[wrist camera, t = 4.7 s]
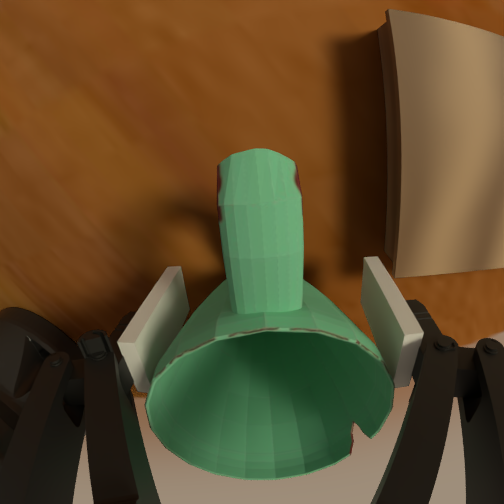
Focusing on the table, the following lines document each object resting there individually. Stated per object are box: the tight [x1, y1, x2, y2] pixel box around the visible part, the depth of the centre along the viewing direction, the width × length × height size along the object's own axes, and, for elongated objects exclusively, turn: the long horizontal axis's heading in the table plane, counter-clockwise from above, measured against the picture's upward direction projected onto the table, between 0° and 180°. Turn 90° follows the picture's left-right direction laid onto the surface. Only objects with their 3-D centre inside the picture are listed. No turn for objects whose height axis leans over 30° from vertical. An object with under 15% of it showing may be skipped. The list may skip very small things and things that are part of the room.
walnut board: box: [377, 9, 504, 278], centre depth 14 cm, size 14×14×3 cm
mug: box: [145, 149, 395, 480], centre depth 15 cm, size 15×10×10 cm
